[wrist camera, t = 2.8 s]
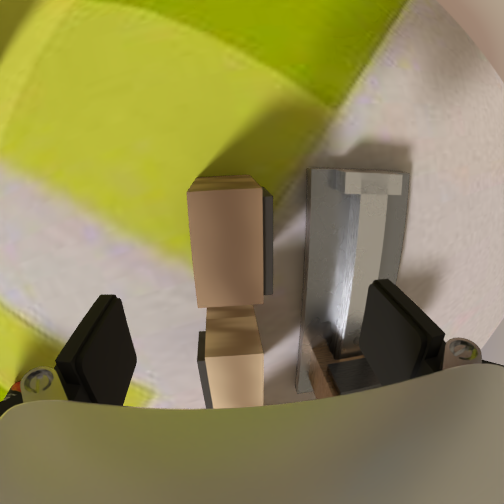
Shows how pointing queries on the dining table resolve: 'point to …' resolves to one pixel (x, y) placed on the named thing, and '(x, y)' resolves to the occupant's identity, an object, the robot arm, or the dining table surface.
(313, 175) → the rail
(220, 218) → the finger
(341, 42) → the dining table surface
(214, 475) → the robot arm
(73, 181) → the dining table surface
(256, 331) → the tan notched block
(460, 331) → the dining table surface
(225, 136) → the dining table surface
